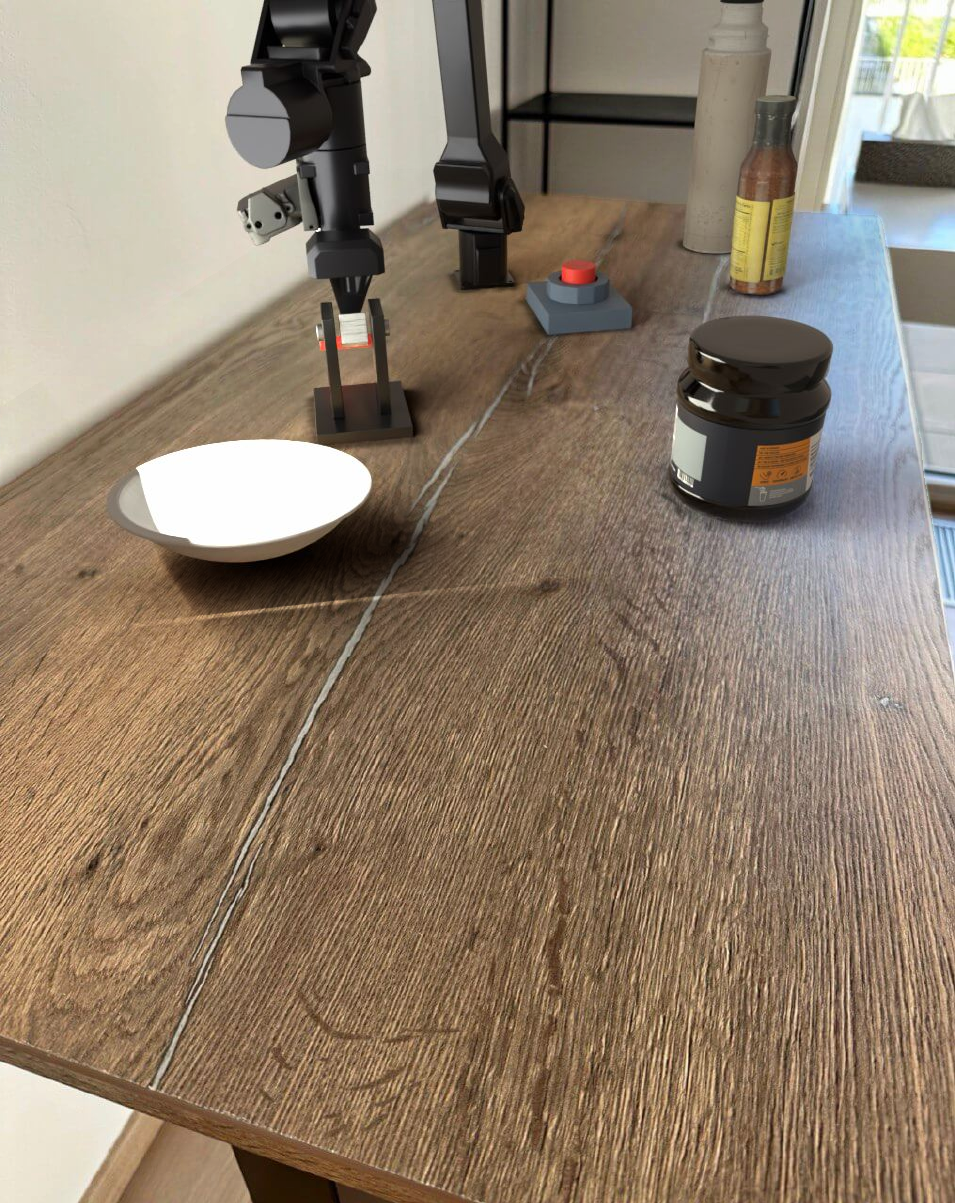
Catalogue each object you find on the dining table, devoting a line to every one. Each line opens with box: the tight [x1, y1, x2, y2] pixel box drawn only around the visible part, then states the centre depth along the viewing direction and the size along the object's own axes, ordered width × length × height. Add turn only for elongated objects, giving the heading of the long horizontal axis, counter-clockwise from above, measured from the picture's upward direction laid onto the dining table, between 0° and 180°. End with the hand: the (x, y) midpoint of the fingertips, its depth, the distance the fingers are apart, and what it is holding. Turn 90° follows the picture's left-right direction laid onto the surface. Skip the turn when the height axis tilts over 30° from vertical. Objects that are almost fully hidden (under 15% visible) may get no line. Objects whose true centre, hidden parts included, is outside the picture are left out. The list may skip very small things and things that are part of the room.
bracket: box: [313, 297, 414, 446], centre depth 81 cm, size 10×8×10 cm
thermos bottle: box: [682, 0, 772, 255], centre depth 117 cm, size 8×8×28 cm
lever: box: [319, 312, 372, 352], centre depth 84 cm, size 13×6×2 cm, turn 9°
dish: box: [105, 439, 373, 563], centre depth 65 cm, size 18×14×5 cm
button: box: [561, 259, 597, 284], centre depth 102 cm, size 4×4×2 cm
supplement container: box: [667, 315, 834, 523], centre depth 69 cm, size 10×10×12 cm
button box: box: [526, 269, 634, 336], centre depth 104 cm, size 11×9×4 cm
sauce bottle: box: [728, 94, 798, 296], centre depth 105 cm, size 7×6×20 cm
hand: (350, 326), depth 89 cm, fingers closed
